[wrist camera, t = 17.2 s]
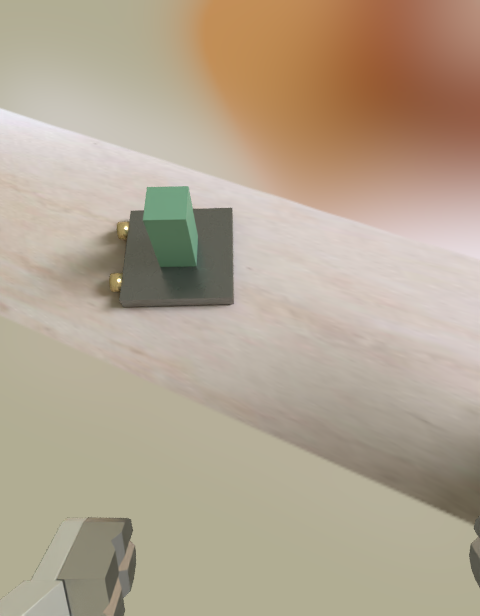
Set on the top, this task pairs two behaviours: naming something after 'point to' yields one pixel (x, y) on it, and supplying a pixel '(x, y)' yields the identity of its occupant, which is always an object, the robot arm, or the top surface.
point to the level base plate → (177, 280)
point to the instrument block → (171, 226)
